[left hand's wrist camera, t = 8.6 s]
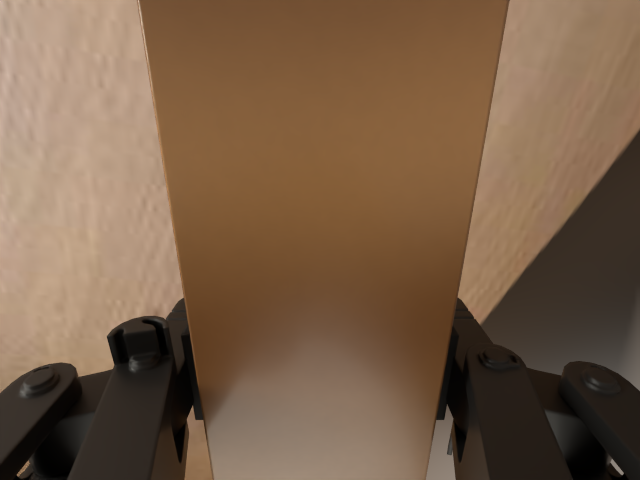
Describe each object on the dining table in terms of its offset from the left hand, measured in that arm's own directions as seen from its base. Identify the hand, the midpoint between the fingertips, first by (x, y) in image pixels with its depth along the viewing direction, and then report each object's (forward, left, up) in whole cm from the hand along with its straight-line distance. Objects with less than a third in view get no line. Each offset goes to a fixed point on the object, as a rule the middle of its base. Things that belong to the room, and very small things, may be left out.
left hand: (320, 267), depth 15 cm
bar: (+14, +10, -1) cm, 18 cm away
